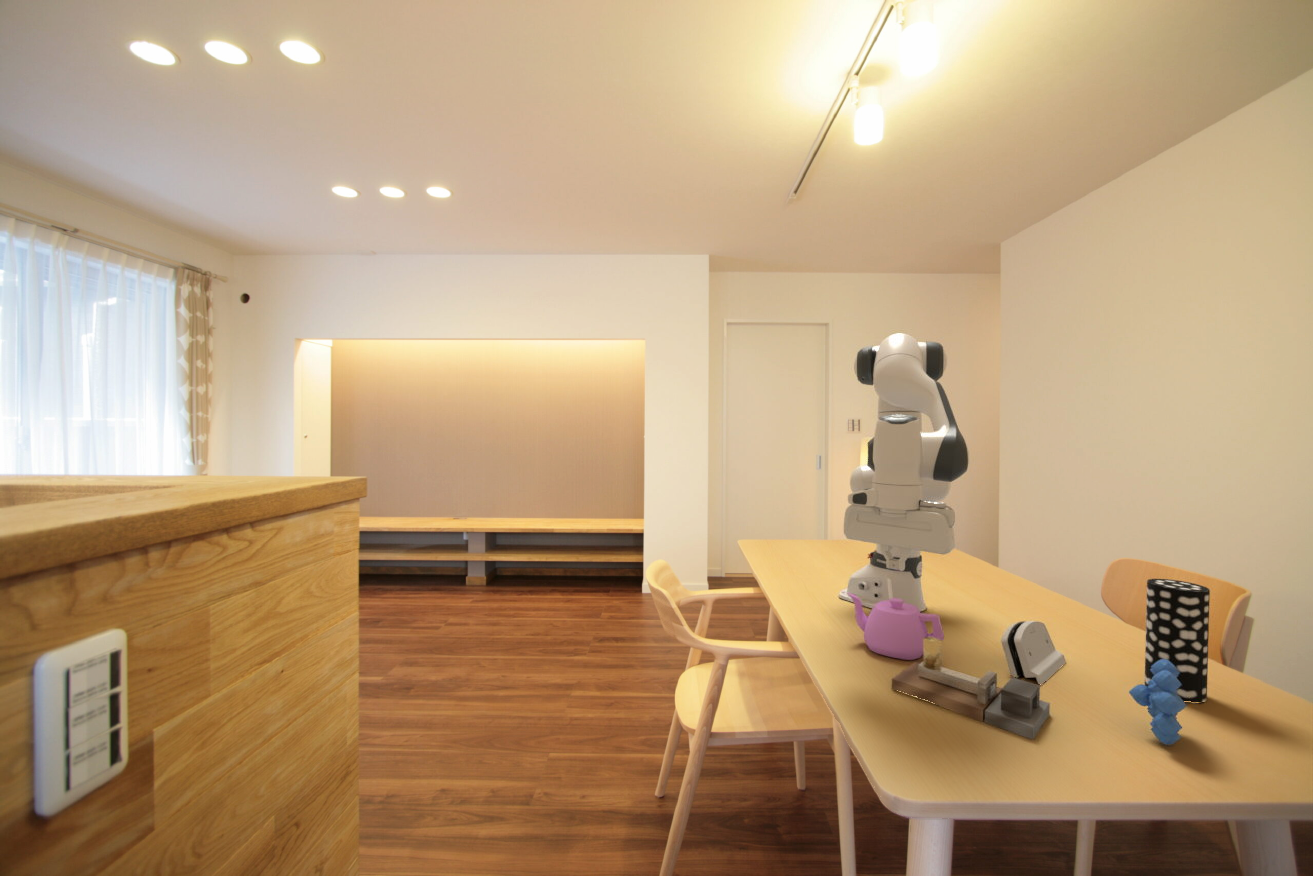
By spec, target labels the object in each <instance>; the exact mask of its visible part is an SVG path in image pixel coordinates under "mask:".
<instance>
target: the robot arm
mask: <svg viewBox="0 0 1313 876" xmlns="http://www.w3.org/2000/svg"><path fill="white" fill-rule="evenodd" d="M947 365H948V357H947V353H946V351H945V349H944V346H943V345H942V344H941V343H940V342H937V341H929V340H928V341H927V340H926V341H925V342H922V341H917V339H916V338H915V337H913V336H912V335H910V334H907V333H894V334H893V333H892V334H890V335H889V336H886V338H884V339H883V340H882V341H881V342H880V344H879V345H875V346H873V345H869V346H864V347H862V348H861V349H859V350H858V351H857V355H856V357H855V358H854V364H853V370H854V374H855V375H856V376H855V377H857V381H858V382H859V383H861V384H862V385H866V386H873V387H874V391H875V393H876V394H877V396H878V400H877V419H876V420H877V421H876V424H875V430H874V436H873V437H872V438H871V439H870V440H868V442H867V463H866V464H861V465H858V466H857V467H855V468H854V470H853V472H852V473H851V475H850V478H849V486H850V489H851V492H852V493H849V494H848V495H847V501H848V504H849V505H848V506H847V507H846V508H845V512H844V516H843V517H844V518H843V534H844V536H845V538H846V539H848V540H852V541H858V542H864V543H870V544H876V549H874V551H871V552H870V553H869V554H867V558H866V559H869V563H868V564H866V565H865V566H863V567H860V568H859V569H858V570H857V571H854V572H853V573H852V574H851V575H850V577H849V578H848V582H847V587H846V588H844V589H842V590H840V591H839V594H838V598H839V599H842V600H845V601H848V602H852V603H854V601H853V600H852V598H851V597H850V596H849V595H848V594H847V593H851V594H853V595H856V596H857V597H858V598H859V599H860V601H861V603H862V607H866V608H869V609H871V610H872V609H873V607H874V606H875V604H877V603H878V602H880V601H885V600H888V601H890V599H891V598H898V599H901V600H903V603H907V604H911V605H914V606H916V607H917V608H918V609H919V611H920V612H923V611H926V609H927V606H926V603H925V597H924V594H923V587H922V573H923V556H922V555H921V552H925V553H932V554H937V555H948V554H950V553H951V552H952V551H953V550H954V549H955V547H956V546H955V545H956V544H955V542H956V541H955V531H954V526H955V521H956V519H955V517H956V516H955V511H954V509H953V508H952V507H951V506H949V505H947V503H945V502H942V501H944V500H945V499H946V498H947V496H948V494H949V493H950V490H951V483H952V482H954V481H955V480H957V479H959V478H960V477H962V476H963V475H964V474H965V473H966V472H968V468H969V464H970V452H969V447H968V445H967V443H966V440H965V438H964V436H963V434H962V433H961V431H960V429H959V427H958V424H957V420H956V418H955V415H954V413H953V409H952V406H951V403H950V401H949V399H948V396H947V393H946V391H945V389H944V388H943V387H944V386H942V383H940V382H939V380H940V379H942V377H943V376H944V373H945V371H946V369H947V368H946V367H947ZM922 414H924V415H926V416H927V417H929V420H930V423H931V425H932V428H933V431H923V426H922V425H923V423H922Z"/></svg>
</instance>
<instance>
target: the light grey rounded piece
mask: <svg viewBox="0 0 1313 876" xmlns="http://www.w3.org/2000/svg"><path fill="white" fill-rule="evenodd" d="M1000 642H1001V645H1002V649H1003V652H1004V655H1005V658H1006V659H1005V660H1006V662H1007V667H1008V670H1009V673H1010V676H1011V675H1012V676H1014V677H1013V678H1015V677H1016V679H1018V678H1019V677H1020V676H1023V677H1024V678H1027V679H1028V678H1035V679H1036V682H1037V685H1038V684H1041V685H1042V684H1043V683H1044V682H1045V681H1046V682H1048V681H1049V680H1050V679H1051V678H1052V677H1053V676H1054V675H1055V674H1056V673H1057V672H1058V671H1059V670H1060V669H1059V668H1060V667H1061V666H1062V665H1064V664H1065V663H1066V664H1067V660H1066V658H1065V655H1064V654H1063V653H1062V652H1061V651H1059V650H1057V648H1055V645H1054V643H1053V641H1052V638H1051V636H1050V634H1049V631H1048V629H1047V625H1046V624H1045V623H1044V622H1042V621H1036V620H1025V621H1024V620H1023V621H1018V622H1015V623H1012V624H1010V625H1009V626H1008V627H1007V628H1006V630H1005V631H1004V633H1003V635H1002V638H1001V641H1000ZM1066 664H1065V665H1066ZM1065 665H1064V666H1065ZM1058 669H1059V670H1058ZM1057 670H1058V671H1057ZM1056 671H1057V672H1056ZM1055 672H1056V673H1055ZM1054 673H1055V674H1054ZM1053 674H1054V675H1053ZM1052 675H1053V676H1052ZM1012 676H1011V677H1012ZM1051 676H1052V677H1051ZM1050 677H1051V678H1050ZM1049 678H1050V679H1049ZM1048 679H1049V680H1048ZM1046 682H1045V683H1046ZM1045 683H1044V684H1045ZM1044 684H1043V685H1044ZM1041 685H1040V686H1041ZM1043 685H1042V686H1043Z"/></svg>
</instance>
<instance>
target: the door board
mask: <svg viewBox="0 0 1313 876" xmlns="http://www.w3.org/2000/svg"><path fill="white" fill-rule="evenodd" d="M920 663H921V662H918V661H915V662H913V663H912V664H911V665H909V666H908V667H906V668H905V669H903V670H902V671H900V673H898V674H896V675H895V676H893V678H891V690H892V689H895V690H898V691H901V692H904V693H907V694H909V695H913V696H917V697H918V698H921V699H925V700H928V701H930V702H933V703H935V704H937V705H940V706H942V707H944V708H943V709H945V708H947V709H946V710H948V709H949V711H951V712H953V713H957V714H959V715H962V716H964V717H965V716H966V717H968V718H970V719H973V720H976V721H979V722H982V723H983V722H984V723H985V724H987V725H990V726H993V727H996V728H999V729H1001V730H1004V731H1007V732H1010V733H1013V734H1016V735H1019V736H1021V737H1025V738H1027V739H1029V740H1032V741H1033V740H1034V739H1035V737H1036V736H1037V735H1038V733H1039V731H1041V729H1042V727H1043V725H1044V724H1045V722H1046V720H1047V719H1048V718H1049V716H1050V709H1051V707H1050V704H1051V703H1050V702H1048V701H1045V700H1041V699H1040V694H1041V693H1040V687H1041V685H1038V683H1037V684H1036V683H1034V682H1033V683H1032V682H1029V681H1025V680H1022V679H1018V678H1015V677H1012V676H1011V678H1010V679H1009V680H1008V681H1007V683H1005V685H1004V686H1003V687H998V686H997V685H998V684H997V683H998V681H997V680H998V672H995V671H992V670H988V671H987V672H986V673H985V674H984V675H983V676H982V677H981V678H980V680H979V681H978V689H977V695H976V694H973V693H970V692H967V691H964V690H961V689H958V688H955V687H952V686H949V685H945V684H942V683H939V682H936V681H933V680H930V679H927V678H924V677H921V676H918V665H919V664H920ZM992 682H993V683H995V695H994V696H993V698H992V699H988V686H989V685H990V684H991V683H992ZM895 690H894V691H895ZM909 695H908V696H909ZM937 705H936V706H937ZM940 706H939V707H940ZM942 707H941V708H942Z"/></svg>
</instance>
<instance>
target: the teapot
mask: <svg viewBox="0 0 1313 876" xmlns="http://www.w3.org/2000/svg"><path fill="white" fill-rule="evenodd" d="M847 594H848V595H849V596H850V597H851V598H852V600H853V601H854V602H853V604H854V613H855V621H856V623H857V626H858V627H859V629H860V630H862V632H863V639H864V642H865V643H866V646H867V647H868V648H869V650H870V651H871V652H874V653H875V654H878V655H881V656H886V657H889V658H894V659H899V660H903V661H905V660H906V661H914V660H917V659H920V658H921V657H923V638H924V637H935V638H938V639H940V640H941V641H944V639H945V634H944V630H943V627H942V623H941V619H940V616H939V614H937V613H936V614H935V613H922V612H921V611H919V609H918V608H917V607H916V606H914V605H911V604H907V603H903V600H901V599H898V598H891V599H890V601H888V600H885V601H880V602H878V603H877V604H875V606H874V607H873V609H872V608H871V611H870V612H869V614H868V616H867V615H866V614H865V612H864V610H863V605H862V603H861V601H860V599H859V598H858V597H857V596H856V595H853V594H851V593H847ZM925 622H931V625H932V632H931V633H928V629H927V626H926V623H925Z"/></svg>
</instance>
